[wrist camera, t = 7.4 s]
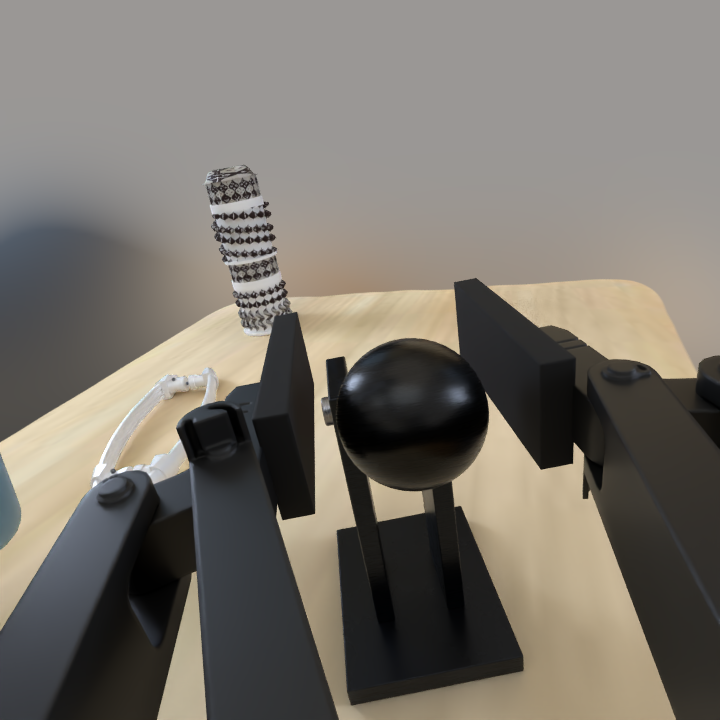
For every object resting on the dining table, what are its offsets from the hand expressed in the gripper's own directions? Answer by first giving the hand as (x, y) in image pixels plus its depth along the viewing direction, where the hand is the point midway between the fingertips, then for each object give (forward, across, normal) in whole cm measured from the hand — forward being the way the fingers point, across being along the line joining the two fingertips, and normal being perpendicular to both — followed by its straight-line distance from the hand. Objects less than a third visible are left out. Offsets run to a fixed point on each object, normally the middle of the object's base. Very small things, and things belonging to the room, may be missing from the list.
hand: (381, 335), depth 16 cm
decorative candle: (+61, -14, -20) cm, 66 cm away
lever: (-1, 0, -4) cm, 4 cm away
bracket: (+5, 0, -20) cm, 20 cm away
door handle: (+31, -23, -20) cm, 43 cm away
